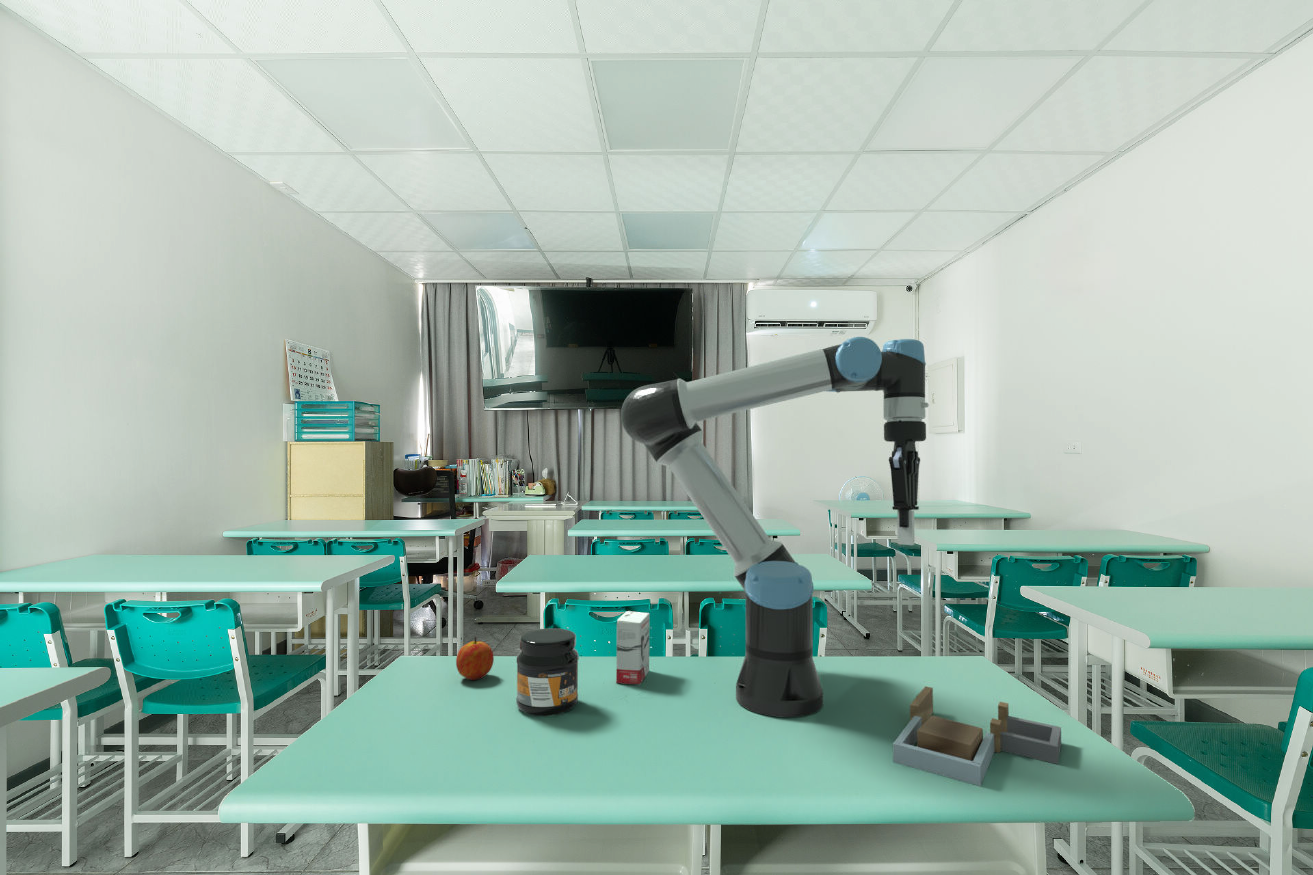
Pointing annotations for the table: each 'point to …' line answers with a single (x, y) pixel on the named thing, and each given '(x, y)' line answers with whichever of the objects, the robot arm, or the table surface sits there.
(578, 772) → the table surface
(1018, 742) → the trap pit
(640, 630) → the ink box
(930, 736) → the block
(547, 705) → the supplement container
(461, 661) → the fruit
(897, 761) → the dock
